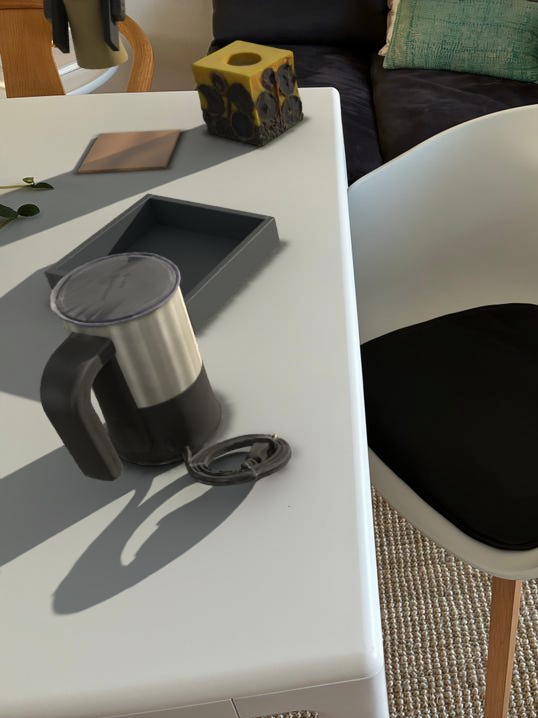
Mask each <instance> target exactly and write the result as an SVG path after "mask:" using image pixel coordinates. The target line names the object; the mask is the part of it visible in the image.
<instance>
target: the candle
mask: <svg viewBox="0 0 538 718" xmlns="http://www.w3.org/2000/svg"><path fill="white" fill-rule="evenodd" d="M190 67H191V71H192V74H193V76H194V77H193V78H194V82H195V84H196V91H197V94H198V99H199V104H200V110H201V111H202V115H201V116H202V120H203V122H204V123H205V126H206V131H207V133H208V134H209V135H215V136H217V137H222V138H227V139H229V140H234V141H238V142H243V143H246V144H251V145H255V146H257V147H263V146H265V145H267V144H269V143H270V142H272V141H273V140H275V139H276V138H278V137H279V136H281V135H282V134H284V133H285V132H287V131H288V130H291V128H292V127H294V126H296V125H298V124H299V123H300V122H302V121H303V120H304V118H305V117H304V116H305V114H304V112H303V102H302V99H301V95H300V92H299V87H298V82H297V80H298V76H297V74H296V70H295V62H294V52H293V51H291V50H287V49H283V48H276V47H273V46H267V45H262V44H257V43H253V42H248V41H243V40H235V41H233V42H231V43H230V44H227V45H226V46H224V47H222V48H220V49H219V50H216V51H215V52H212V53H210V54H208V55H206V56H205V57H203V58H201V59H199V60H197V61H194V62H193V63H192V64H191V65H190Z"/></svg>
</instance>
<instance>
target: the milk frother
mask: <svg viewBox="0 0 538 718" xmlns="http://www.w3.org/2000/svg"><path fill="white" fill-rule="evenodd" d="M180 279H181V277H180V272H179V270H178V268H177V266H176V265H175V264H174V263H173V262H171V261H170V260H168V259H166V258H164V257H161V256H158V255H156V254H152V253H137V252H134V253H123V254H116V255H110V256H106V257H103V258H99V259H95V260H93V261H91V262H88V263H86V264H84V265H82V266H79V267H77V268H76V269H74V270H73V271H71V272H70V273H69V274H67V275H65V276H64V277H63V278H62V279H61V280H60V281H59V282H58V283H57V284H56V285H55V287H54V288H53V290H52V289H51V290H50V294H49V299H48V301H49V307H50V310H51V311H52V313H53V314H54V315H55V316H56V317H58V318H59V319H60V320H61V321H62V324H63V326H64V328H65V330H66V334H67V335H68V336H67V337H66V338H65V339H64V340H63V342H61V343H60V344H59V346H58V347H57V348H55V350H54V351H53V352H52V354H51V355H50V357H49V358H48V359H47V361H46V363H45V365H44V367H43V371H42V374H41V376H40V377H41V378H40V383H39V398H40V402H41V407H42V410H43V412H44V414H45V415H46V418H47V419H48V421H49V422H50V425H52V427H53V429H54V430H55V432H56V433H57V435H58V437H59V438H60V440H61V442H62V444H63V446H64V447H65V448H66V450H67V451H68V453H69V454H70V456H71V457H72V459H73V460H74V462H75V463H76V465H77V467H78V469H79V470H80V471H81V473H82V474H83V475H84V476H85V477H87V478H90V479H93V480H97V481H104V482H112V481H115V480H118V479H119V477H121V475H122V473H123V471H124V466H123V462H122V460H121V458H122V459H124V460H125V461H126V462H130V463H134V464H137V465H141V466H163V465H169V464H173V463H174V462H179V461H182V460H183V461H184V466H185V468H186V471H187V473H188V475H189V476H190V479H192V480H193V481H194V482H195V483H199V484H201V485H205V486H209V487H230V486H239V485H244V484H248V483H252V482H255V481H259V480H261V479H264V478H266V477H269V476H271V475H273V474H275V473H277V472H279V471H280V470H281V469H283V468H284V467H286V466H287V464H288V463H289V461H290V460H291V458H292V448H291V445H290V443H289V442H288V441H286V440H285V439H284V438H282V437H279V436H277V435H278V434H277V433H275V432H272V433H271V434H264V433H249V434H242V435H238V436H234V437H230V438H227V439H223V440H222V441H220V442H217V443H215V444H213V445H211V446H208V447H207V448H206V449H204V447H205V446H207V445H209V443H210V442H211V441H212V440H213V439H214V438H215V437H216V435H217V434H218V433H219V431H220V428H221V426H222V423H223V420H224V412H223V407H222V404H221V403H220V401H219V400H218V399H217V398H216V396H215V393H214V389H213V388H212V385H211V382H210V379H209V377H208V374H207V371H206V367H205V365H204V361H203V358H202V354H201V352H200V349H199V345H198V341H197V339H196V334H194V332H193V329H192V325H191V322H190V319H189V316H188V313H187V309H186V306H185V303H184V300H183V296H182V293H181V290H180V287H179V284H180ZM92 393H93V395H94V397H95V399H96V401H97V403H98V406H99V409H100V411H101V414H102V416H103V419H104V422H105V424H106V427H107V431H108V433H109V435H108V433H107V431H106V427H105V426H104V424H103V422H102V420H101V418H100V416H99V415H98V412H97V411H96V409H95V407H94V404H93V403H92ZM248 447H250V449H249V452H248V453H247V454H246V455H245V458H244V460H245V461H244V462H242V463H241V464H240V468H238V469H230V470H215V469H213V468H210V467H209V465H210V464H211V462H213V461H214V460H215V459H217V458H219V457H220V456H223V455H225V454H227V453H229V452H232V451H235V450H238V449H239V450H240V449H243V448H248ZM202 449H204V450H202ZM201 450H202V451H201ZM199 451H201V452H200V453H199V454H197V455H196V456H195V457H194V459H193V458H192V457H193V455H194V454H196V453H198V452H199Z"/></svg>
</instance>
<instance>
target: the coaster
mask: <svg viewBox="0 0 538 718" xmlns="http://www.w3.org/2000/svg"><path fill="white" fill-rule="evenodd" d="M180 135H181V129H169V130H151V131H150V130H149V131H131V132H129V131H128V132H110V133H109V132H107V133H99V134H98V135H97V136H98V137H97V138H96V139H95V141H94V143H93V145H92V146H91V148H90V150H89V151H88V153H87V155H86V157H85V159H84V160H83V162H82V164H81V165H80V167H79V168H78V170H77V172H78V174H94V173H95V174H97V173H113V172H115V173H116V172H131V171H132V172H133V171H150V170H166V169H167V167H168V164H169V162H170V160H171V157H172V155H173V152H174V150H175V147H176V145H177V142H178V140H179V137H180Z"/></svg>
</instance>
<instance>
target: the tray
mask: <svg viewBox="0 0 538 718" xmlns="http://www.w3.org/2000/svg"><path fill="white" fill-rule="evenodd" d="M281 247H282V245H281V241H280V235H279V231H278V226H277V221H276V217H275V216H272V215H267V214H262V213H256V212H249V211H244V210H239V209H234V208H229V207H224V206H218V205H212V204H206V203H203V202H202V203H201V202H198V201H197V202H196V201H192V200H191V201H190V200H185V199H180V198H176V197H175V198H174V197H169V196H163V195H158V194H153V193H146V194H145V195H143V196H142V197H141V198H139V199H138V200H136V201H135V202H134V203H133V204H132V205H130V206H129V207H127V208H126V209H125V210H124V211H122V212H121V213H119V215H117V216H116V217H115V218H113V219H112V220H110V221H109V222H108V223H106V224H105V225H104V226H103V227H101V228H99V229H98V230H96V232H95V233H93V234H92V235H90V236H89V237H87V238H86V240H84V241H83V242H81V243H80V244H79V245H77V246H76V247H74V248H73V249H72V250H70V251H69V252H68V253H67V254H66V255H64V256H63V257H62V258H60V259H59V260H58V261H56V262H54V264H52V265H51V266H50V267H48V268H47V269H45V270H44V271H43V274H44V276H45V278H46V280H47V282H48V284H49V287H50V289H51V291H52V290H53V288H54V287H55V285H56V284H57V283H58V282H59V281H60V280H61V279H62V278H63V277H64V276H65V275H67V274H69V273H70V272H71V271H73V270H74V269H76V268H77V267H79V266H82V265H84V264H86V263H88V262H91V261H93V260H95V259H99V258H103V257H106V256H110V255H116V254H123V253H134V252H137V253H152V254H156V255H158V256H161V257H164V258H166V259H168V260H170V261H171V262H173V263H174V264H175V265H176V266H177V268H178V270H179V272H180V277H181V279H180V284H179V287H180V290H181V293H182V296H183V300H184V303H185V306H186V309H187V313H188V316H189V319H190V322H191V325H192V329H193V332H194V335H197V334H198V332H200V330H202V328H203V327H204V326H206V325H207V323H208V322H210V320H212V318H213V317H214V316H215V315H216V314H217V313H218V312H219V311H220V310H221V309H222V308H223V307H224V306H225V305H226V303H228V302H229V301H230V299H231V298H232V297H233V296H234V295H236V293H237V292H239V290H240V289H241V288H242V287H243V286H244V285H245V284H246V283H247V282H248V281H249V280H250V279H251V278H252V277H253V276H254V275H255V274H256V273H257V272H258V271H259V269H261V267H262V266H263V265H264V264H265V263H266V262H267V261H268V260H269V259H270V258H271V257H272V256H274V254H275V253H276V252H277V251H278V250H279V249H280V248H281Z"/></svg>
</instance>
